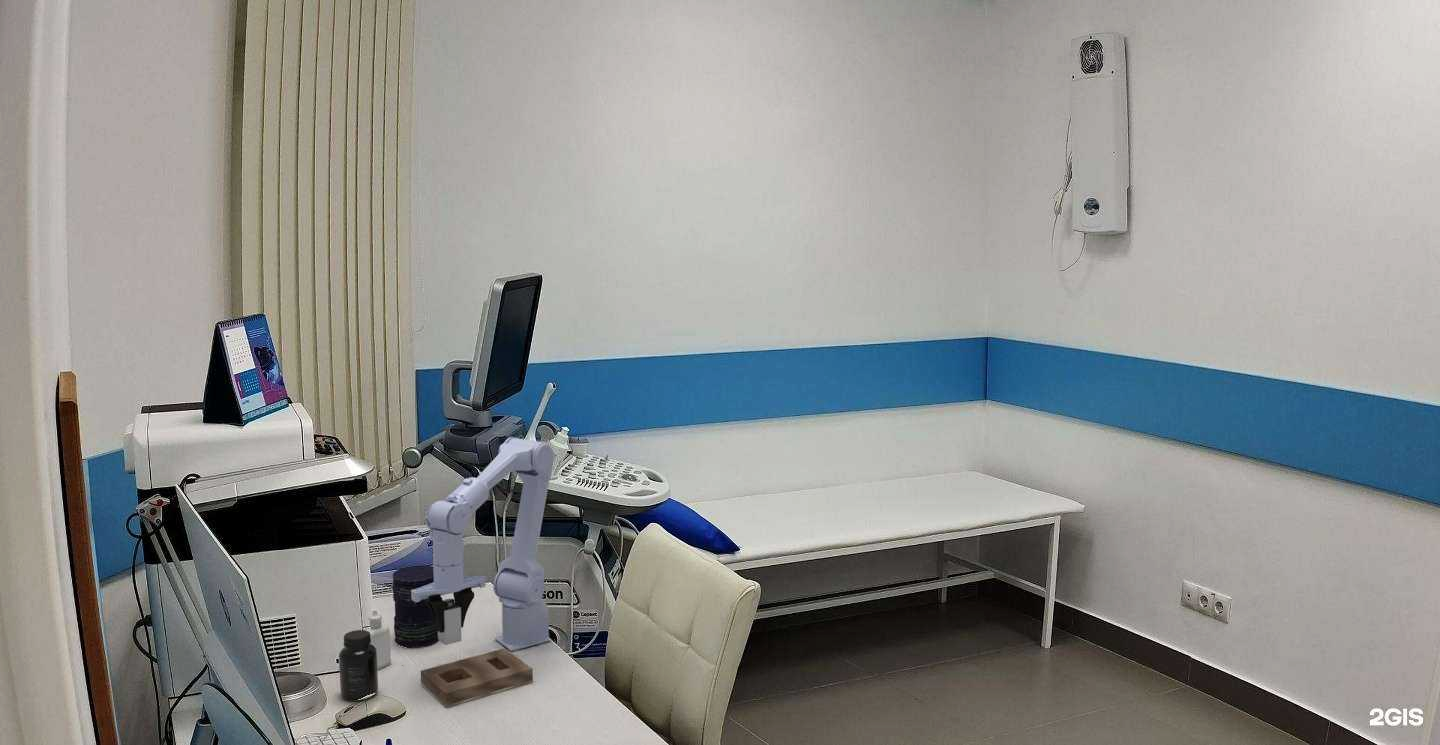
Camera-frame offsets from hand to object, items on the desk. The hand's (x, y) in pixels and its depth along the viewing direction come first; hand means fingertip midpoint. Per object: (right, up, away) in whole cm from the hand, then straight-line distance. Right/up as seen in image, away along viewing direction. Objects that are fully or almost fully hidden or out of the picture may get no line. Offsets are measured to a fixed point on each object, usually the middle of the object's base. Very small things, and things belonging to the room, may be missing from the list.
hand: (449, 628), depth 203 cm
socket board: (+5, -11, 0) cm, 12 cm away
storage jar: (-12, -8, +20) cm, 25 cm away
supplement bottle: (-16, -11, -5) cm, 20 cm away
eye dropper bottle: (-17, -10, +7) cm, 20 cm away
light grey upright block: (0, -2, +1) cm, 3 cm away
